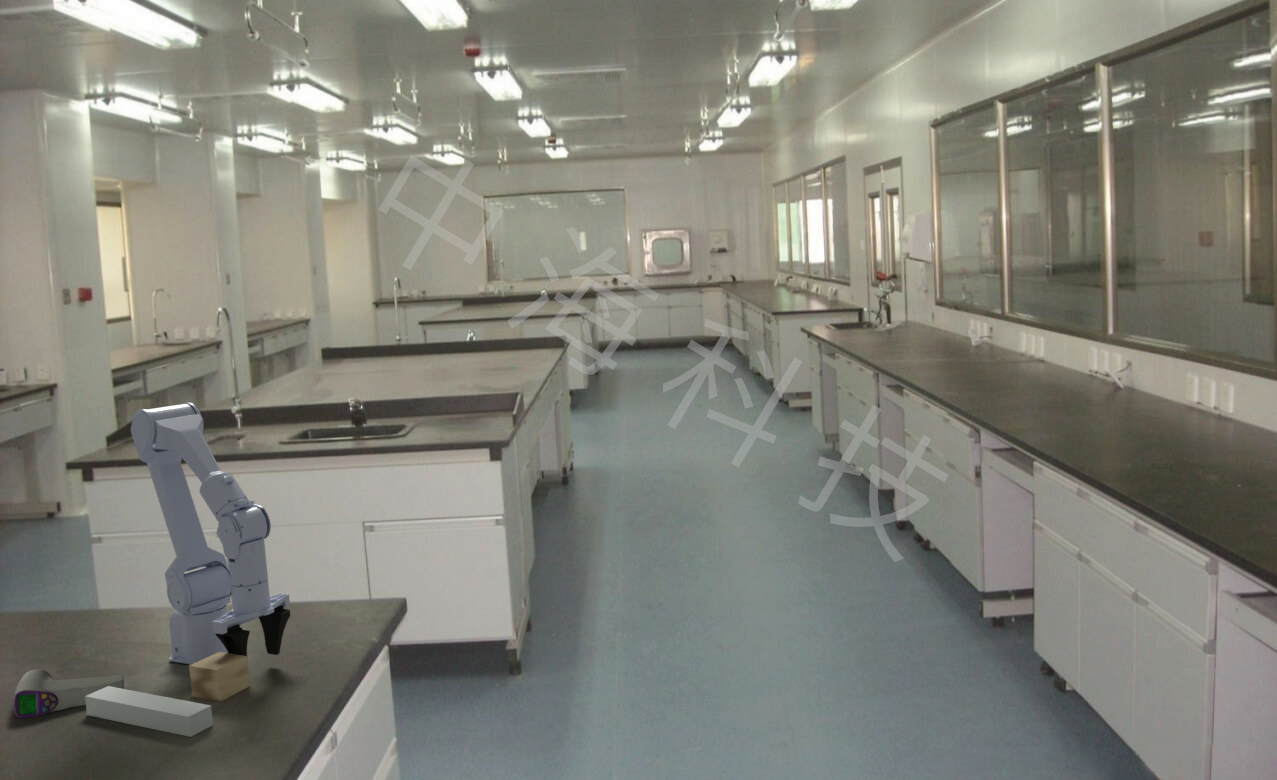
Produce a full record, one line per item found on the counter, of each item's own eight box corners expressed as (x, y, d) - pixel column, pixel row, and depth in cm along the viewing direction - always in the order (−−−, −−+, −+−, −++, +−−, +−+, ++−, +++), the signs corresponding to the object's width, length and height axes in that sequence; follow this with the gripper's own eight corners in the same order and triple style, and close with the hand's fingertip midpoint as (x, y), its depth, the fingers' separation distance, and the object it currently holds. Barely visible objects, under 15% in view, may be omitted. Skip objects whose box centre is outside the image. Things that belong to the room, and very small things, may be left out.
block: (192, 696, 163) (189, 665, 162) (222, 681, 168) (219, 651, 168) (220, 701, 160) (217, 670, 160) (250, 686, 166) (246, 656, 165)
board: (87, 715, 158) (85, 696, 157) (110, 704, 161) (108, 686, 161) (190, 736, 148) (188, 716, 148) (213, 725, 152) (210, 705, 151)
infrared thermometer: (124, 705, 164) (13, 722, 157) (122, 680, 175) (18, 695, 168) (123, 677, 164) (12, 693, 157) (121, 653, 174) (17, 667, 167)
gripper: (232, 597, 161) (241, 681, 163) (300, 570, 174) (307, 648, 176) (200, 593, 164) (208, 675, 166) (268, 567, 177) (276, 644, 179)
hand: (257, 661), depth 171 cm, fingers open, 6 cm apart
